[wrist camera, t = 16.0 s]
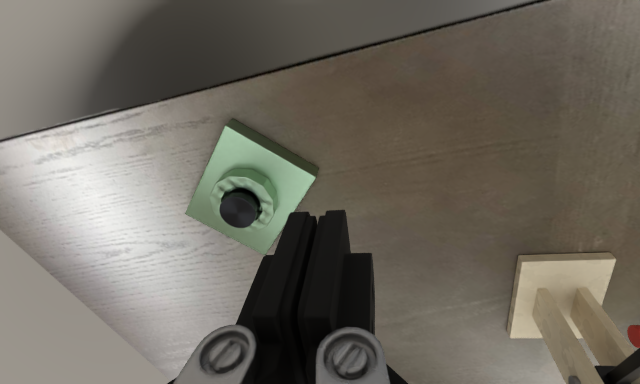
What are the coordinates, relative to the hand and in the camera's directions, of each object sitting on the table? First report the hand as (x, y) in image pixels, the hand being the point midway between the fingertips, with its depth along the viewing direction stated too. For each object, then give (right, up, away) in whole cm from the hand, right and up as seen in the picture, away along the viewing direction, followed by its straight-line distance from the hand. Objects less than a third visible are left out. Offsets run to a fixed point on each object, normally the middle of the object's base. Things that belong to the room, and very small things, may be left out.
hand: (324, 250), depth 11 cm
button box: (-7, +2, +28) cm, 29 cm away
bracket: (+27, -10, +30) cm, 42 cm away
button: (-8, +1, +25) cm, 26 cm away
